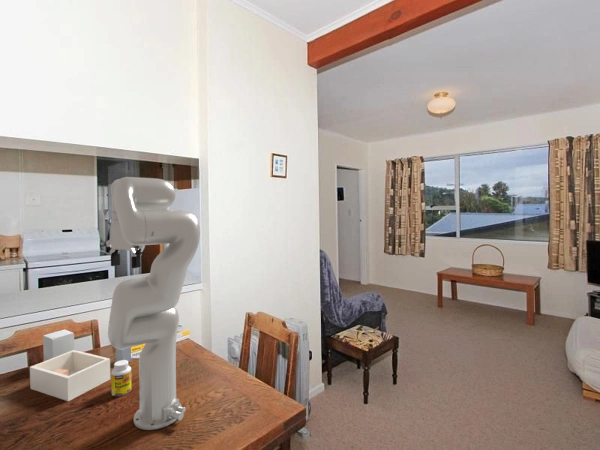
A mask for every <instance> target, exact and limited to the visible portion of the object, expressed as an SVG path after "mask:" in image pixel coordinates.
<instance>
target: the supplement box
mask: <svg viewBox="0 0 600 450" xmlns="http://www.w3.org/2000/svg"><path fill="white" fill-rule="evenodd" d="M42 345H43V347H42V349H43V362H44V361H47V360H49V359H52V358H54V357H57V356H59V355H62V354H65V353H67V352H70V351H72V350H75V333H74V332H72V331H69V330H67V329H61V330H58V331H54V332H51V333H47V334H44V335H42Z"/></svg>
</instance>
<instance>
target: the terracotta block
mask: <svg viewBox="0 0 600 450" xmlns="http://www.w3.org/2000/svg"><path fill="white" fill-rule="evenodd" d="M53 372H57V373H60V374H63V375H67V376H68V370H62V369H56V370H55V371H53Z"/></svg>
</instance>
